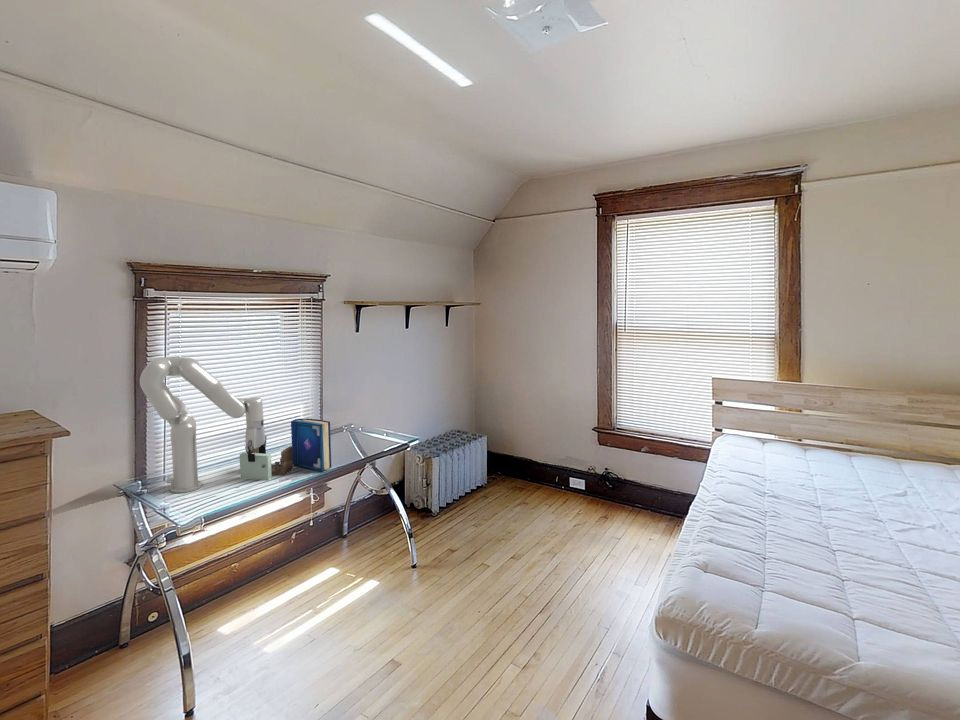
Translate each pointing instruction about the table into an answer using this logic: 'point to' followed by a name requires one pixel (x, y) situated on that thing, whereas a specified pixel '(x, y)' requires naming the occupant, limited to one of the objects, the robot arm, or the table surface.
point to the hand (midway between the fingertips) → (257, 458)
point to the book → (311, 443)
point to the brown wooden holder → (282, 462)
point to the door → (255, 467)
